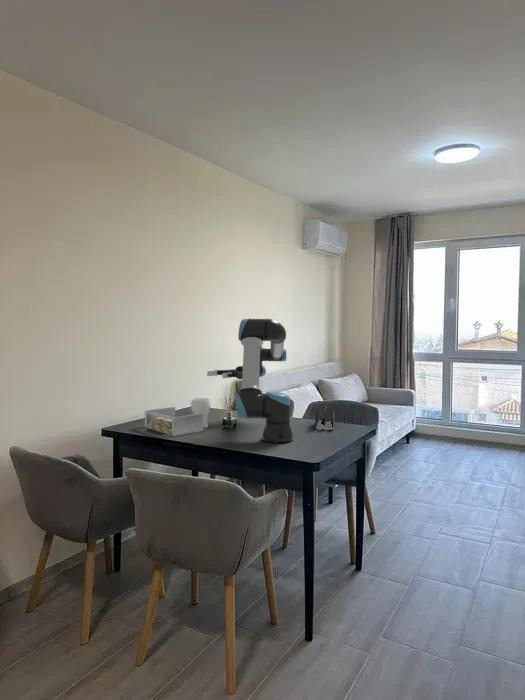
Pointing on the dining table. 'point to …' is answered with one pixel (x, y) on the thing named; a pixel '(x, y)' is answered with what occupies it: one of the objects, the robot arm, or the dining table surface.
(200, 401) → the cup
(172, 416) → the grey open storage bin
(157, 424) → the offcut bundle
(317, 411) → the letter holder
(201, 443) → the dining table surface
